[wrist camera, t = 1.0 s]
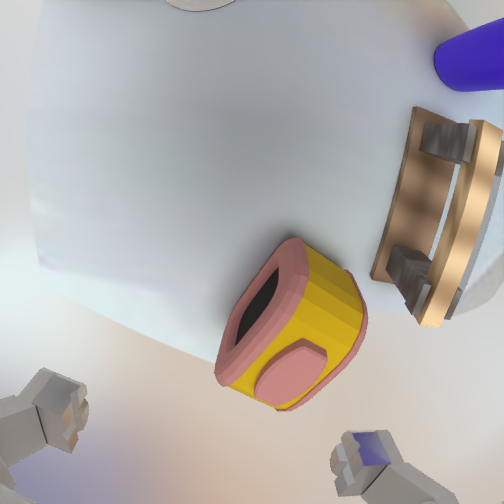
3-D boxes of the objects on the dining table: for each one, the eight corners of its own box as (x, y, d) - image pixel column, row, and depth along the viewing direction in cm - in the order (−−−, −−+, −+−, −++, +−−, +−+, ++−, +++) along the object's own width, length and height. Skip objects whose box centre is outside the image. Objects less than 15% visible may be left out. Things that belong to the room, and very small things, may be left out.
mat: (470, 127, 36) (473, 128, 35) (504, 145, 36) (507, 146, 35) (424, 288, 46) (425, 290, 45) (458, 295, 46) (460, 297, 45)
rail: (469, 119, 26) (483, 120, 23) (488, 128, 26) (503, 130, 23) (411, 312, 35) (419, 325, 32) (430, 314, 35) (439, 327, 32)
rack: (413, 107, 36) (465, 102, 23) (457, 125, 36) (515, 130, 23) (369, 275, 46) (397, 328, 33) (413, 283, 46) (448, 333, 33)
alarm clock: (292, 222, 44) (301, 288, 26) (352, 263, 46) (390, 343, 28) (225, 314, 51) (200, 404, 33) (281, 345, 52) (279, 438, 34)
